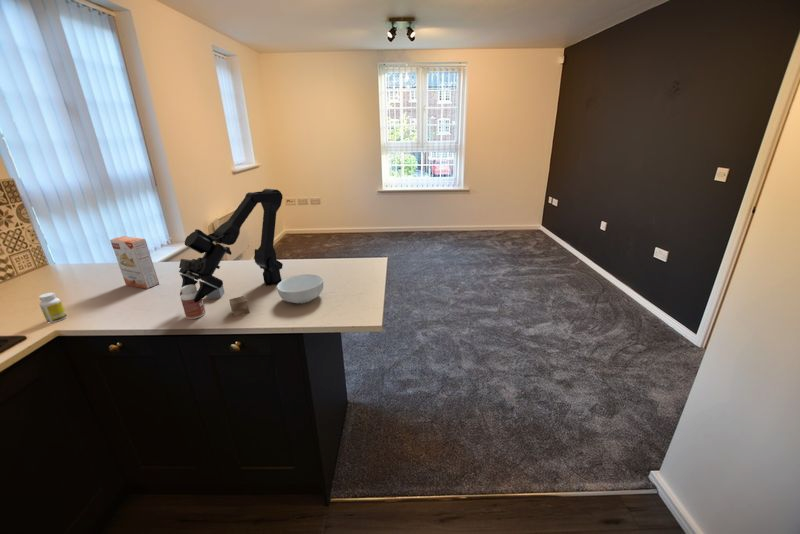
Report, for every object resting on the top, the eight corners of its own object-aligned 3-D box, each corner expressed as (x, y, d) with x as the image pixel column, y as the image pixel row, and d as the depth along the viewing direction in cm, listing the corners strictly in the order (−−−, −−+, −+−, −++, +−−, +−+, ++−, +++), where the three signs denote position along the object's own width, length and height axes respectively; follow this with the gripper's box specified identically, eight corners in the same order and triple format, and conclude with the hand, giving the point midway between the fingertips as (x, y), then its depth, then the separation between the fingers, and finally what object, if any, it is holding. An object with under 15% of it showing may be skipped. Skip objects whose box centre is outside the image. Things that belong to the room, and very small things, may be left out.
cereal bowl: (310, 286, 147) (308, 270, 144) (333, 298, 136) (331, 281, 133) (271, 299, 136) (268, 283, 133) (293, 314, 125) (290, 296, 122)
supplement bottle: (71, 315, 130) (61, 290, 126) (59, 322, 125) (48, 297, 121) (55, 316, 129) (44, 292, 125) (43, 324, 124) (31, 298, 120)
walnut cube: (246, 307, 131) (243, 295, 129) (249, 313, 127) (247, 300, 125) (231, 311, 128) (229, 299, 126) (234, 317, 124) (231, 304, 122)
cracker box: (124, 285, 154) (108, 239, 146) (138, 280, 159) (123, 235, 152) (146, 289, 149) (130, 242, 141) (160, 284, 154) (145, 238, 146)
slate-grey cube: (224, 292, 144) (222, 281, 142) (221, 298, 139) (218, 286, 137) (211, 294, 143) (208, 282, 141) (207, 299, 138) (204, 287, 137)
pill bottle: (206, 316, 125) (199, 287, 121) (186, 321, 122) (178, 292, 118) (204, 309, 130) (197, 281, 126) (185, 314, 127) (177, 286, 123)
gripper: (177, 245, 126) (152, 284, 121) (206, 253, 116) (180, 296, 112) (204, 259, 135) (182, 296, 130) (233, 267, 125) (210, 308, 120)
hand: (187, 298), depth 123 cm, fingers open, 9 cm apart
